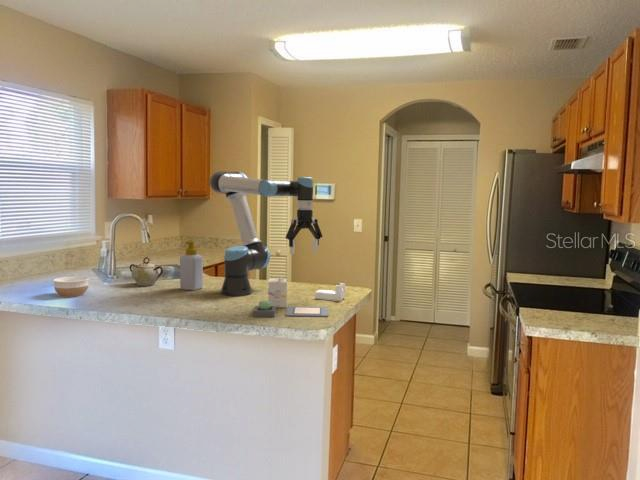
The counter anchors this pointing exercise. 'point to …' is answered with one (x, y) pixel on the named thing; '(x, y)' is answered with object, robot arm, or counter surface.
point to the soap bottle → (191, 269)
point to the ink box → (278, 292)
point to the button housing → (264, 312)
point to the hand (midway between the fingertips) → (304, 252)
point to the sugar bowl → (145, 273)
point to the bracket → (332, 293)
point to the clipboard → (307, 311)
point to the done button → (264, 305)
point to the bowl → (71, 286)
